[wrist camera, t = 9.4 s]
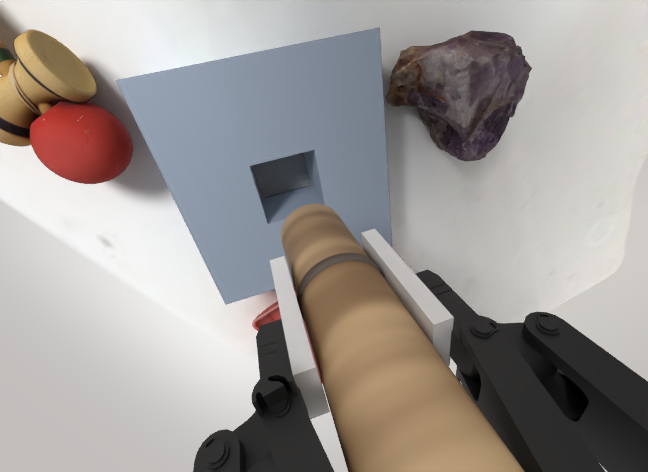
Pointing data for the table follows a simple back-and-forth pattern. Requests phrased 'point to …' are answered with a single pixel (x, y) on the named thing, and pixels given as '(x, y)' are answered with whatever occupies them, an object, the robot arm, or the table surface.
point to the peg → (381, 361)
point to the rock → (462, 89)
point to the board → (268, 146)
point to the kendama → (59, 111)
